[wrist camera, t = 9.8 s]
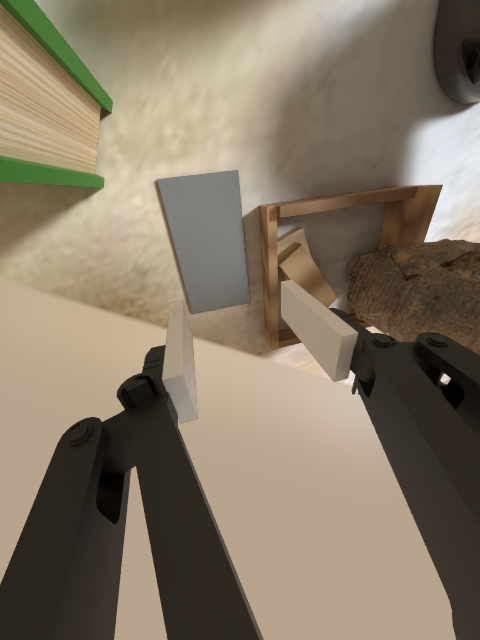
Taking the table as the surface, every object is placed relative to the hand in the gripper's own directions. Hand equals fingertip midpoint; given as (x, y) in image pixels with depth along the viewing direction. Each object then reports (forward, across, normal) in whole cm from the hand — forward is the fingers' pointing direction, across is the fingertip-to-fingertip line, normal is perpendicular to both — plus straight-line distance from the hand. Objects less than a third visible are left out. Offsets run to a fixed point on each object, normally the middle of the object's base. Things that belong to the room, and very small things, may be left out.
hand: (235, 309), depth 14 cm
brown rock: (+17, +22, -6) cm, 28 cm away
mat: (+17, 0, 0) cm, 17 cm away
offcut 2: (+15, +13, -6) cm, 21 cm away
